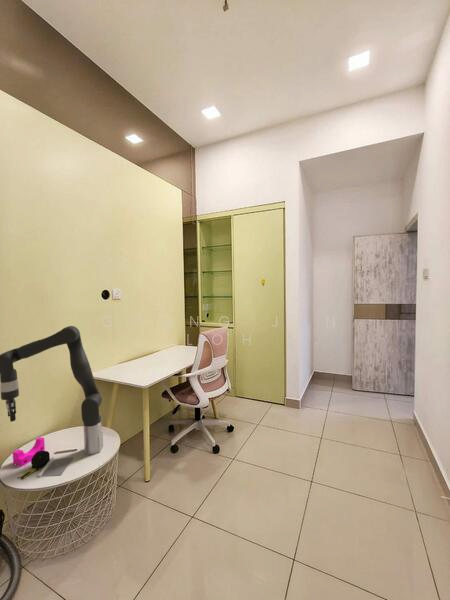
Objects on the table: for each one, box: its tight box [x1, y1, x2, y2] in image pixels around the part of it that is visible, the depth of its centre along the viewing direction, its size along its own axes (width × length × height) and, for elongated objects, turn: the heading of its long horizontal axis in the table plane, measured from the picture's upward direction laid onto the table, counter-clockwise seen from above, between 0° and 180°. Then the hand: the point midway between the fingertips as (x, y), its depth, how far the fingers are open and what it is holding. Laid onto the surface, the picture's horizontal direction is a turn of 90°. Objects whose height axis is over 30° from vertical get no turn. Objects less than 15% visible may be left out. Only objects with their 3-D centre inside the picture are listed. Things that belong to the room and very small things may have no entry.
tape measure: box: [18, 450, 51, 480], centre depth 138 cm, size 15×4×8 cm, turn 165°
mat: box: [37, 456, 73, 478], centre depth 141 cm, size 10×14×2 cm
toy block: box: [12, 436, 46, 467], centre depth 149 cm, size 15×6×8 cm, turn 163°
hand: (11, 418), depth 143 cm, fingers open, 8 cm apart
